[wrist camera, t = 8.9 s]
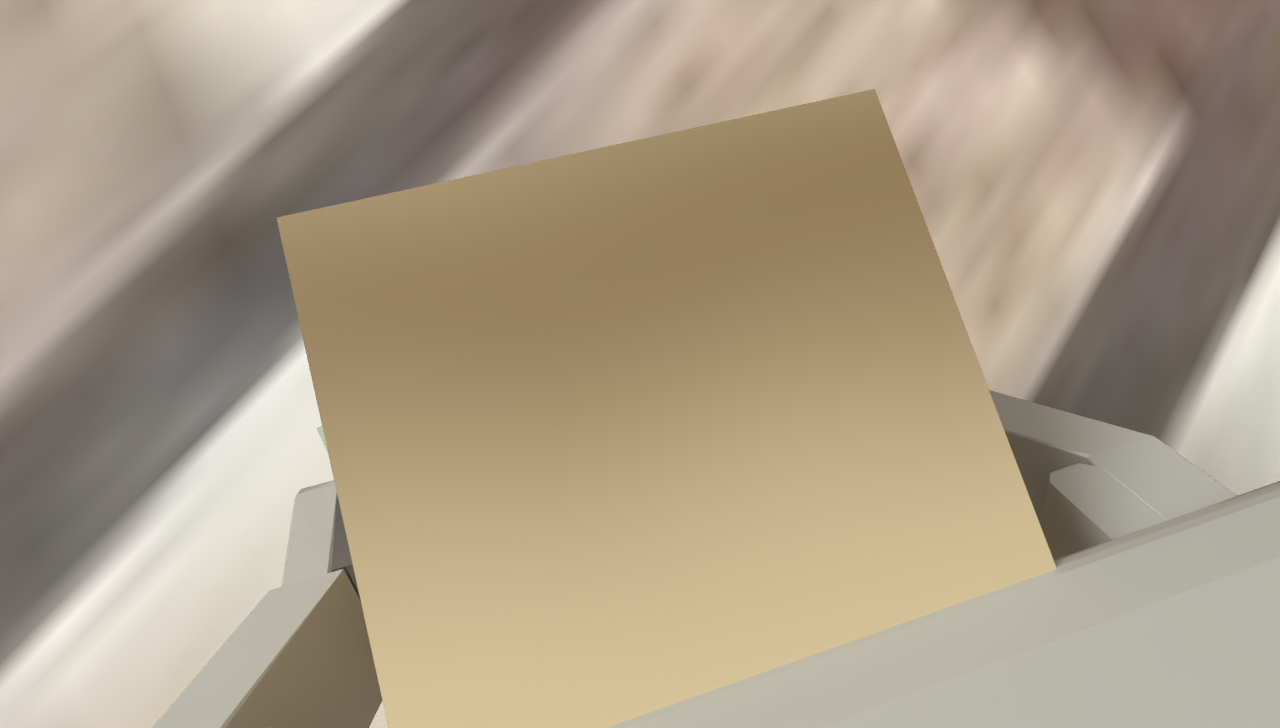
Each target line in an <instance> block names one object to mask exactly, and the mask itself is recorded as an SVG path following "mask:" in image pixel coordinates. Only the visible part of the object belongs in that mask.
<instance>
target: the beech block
mask: <svg viewBox="0 0 1280 728" xmlns="http://www.w3.org/2000/svg"><path fill="white" fill-rule="evenodd" d="M277 221H278V226H279V230H280V235H281V240H282V244H283V249H284V253H285V258H286V262H287V267H288V272H289V276H290V281H291V285H292V290H293V294H294V299H295V303H296V308H297V313H298V317H299V322H300V326H301V331H302V335H303V340H304V344H305V349H306V354H307V358H308V363H309V367H310V372H311V376H312V381H313V386H314V390H315V395H316V399H317V404H318V408H319V413H320V417H321V422H322V427H323V431H324V436H325V440H326V445H327V449H328V454H329V458H330V463H331V468H332V472H333V477H334V481H335V486H336V490H337V495H338V499H339V504H340V509H341V513H342V518H343V522H344V527H345V531H346V536H347V541H348V545H349V550H350V554H351V559H352V563H353V568H354V572H355V577H356V582H357V586H358V591H359V595H360V600H361V604H362V609H363V613H364V618H365V623H366V627H367V632H368V636H369V641H370V645H371V650H372V655H373V659H374V664H375V668H376V673H377V677H378V682H379V686H380V691H381V696H382V700H383V705H384V709H385V714H386V718H387V723H388V727H389V728H607V727H610V726H613V725H616V724H618V723H621V722H624V721H627V720H630V719H633V718H635V717H638V716H641V715H644V714H647V713H650V712H652V711H655V710H658V709H661V708H664V707H667V706H669V705H672V704H675V703H678V702H681V701H684V700H686V699H689V698H692V697H695V696H698V695H701V694H703V693H706V692H709V691H712V690H715V689H718V688H721V687H723V686H726V685H729V684H732V683H735V682H738V681H740V680H743V679H746V678H749V677H752V676H755V675H757V674H760V673H763V672H766V671H769V670H772V669H774V668H777V667H780V666H783V665H786V664H789V663H791V662H794V661H797V660H800V659H803V658H806V657H808V656H811V655H814V654H817V653H820V652H823V651H825V650H828V649H831V648H834V647H837V646H840V645H842V644H845V643H848V642H851V641H854V640H857V639H859V638H862V637H865V636H868V635H871V634H874V633H877V632H879V631H882V630H885V629H888V628H891V627H894V626H896V625H899V624H902V623H905V622H908V621H911V620H913V619H916V618H919V617H922V616H925V615H928V614H930V613H933V612H936V611H939V610H942V609H945V608H947V607H950V606H953V605H956V604H959V603H962V602H964V601H967V600H970V599H973V598H976V597H979V596H981V595H984V594H987V593H990V592H993V591H996V590H998V589H1001V588H1004V587H1007V586H1010V585H1013V584H1015V583H1018V582H1021V581H1024V580H1027V579H1030V578H1032V577H1035V576H1038V575H1041V574H1044V573H1047V572H1049V571H1052V570H1055V569H1057V568H1056V565H1055V563H1054V560H1053V557H1052V555H1051V552H1050V549H1049V547H1048V544H1047V542H1046V539H1045V536H1044V534H1043V531H1042V528H1041V526H1040V523H1039V520H1038V518H1037V515H1036V513H1035V510H1034V507H1033V505H1032V502H1031V499H1030V497H1029V494H1028V492H1027V489H1026V486H1025V484H1024V481H1023V478H1022V476H1021V473H1020V470H1019V468H1018V465H1017V463H1016V460H1015V457H1014V455H1013V452H1012V449H1011V447H1010V444H1009V442H1008V439H1007V436H1006V434H1005V431H1004V428H1003V426H1002V423H1001V420H1000V418H999V415H998V413H997V410H996V407H995V405H994V402H993V399H992V397H991V394H990V392H989V389H988V386H987V384H986V381H985V378H984V376H983V373H982V370H981V368H980V365H979V363H978V360H977V357H976V355H975V352H974V349H973V347H972V344H971V342H970V339H969V336H968V334H967V331H966V328H965V326H964V323H963V320H962V318H961V315H960V313H959V310H958V307H957V305H956V302H955V299H954V297H953V294H952V292H951V289H950V286H949V284H948V281H947V278H946V276H945V273H944V270H943V268H942V265H941V263H940V260H939V257H938V255H937V252H936V249H935V247H934V244H933V242H932V239H931V236H930V234H929V231H928V228H927V226H926V223H925V220H924V218H923V215H922V213H921V210H920V207H919V205H918V202H917V199H916V197H915V194H914V192H913V189H912V186H911V184H910V181H909V178H908V176H907V173H906V170H905V168H904V165H903V163H902V160H901V157H900V155H899V152H898V149H897V147H896V144H895V142H894V139H893V136H892V134H891V131H890V128H889V126H888V123H887V121H886V118H885V115H884V113H883V110H882V107H881V105H880V102H879V99H878V97H877V94H876V92H875V89H873V90H868V91H864V92H859V93H854V94H850V95H845V96H840V97H836V98H831V99H827V100H822V101H817V102H813V103H808V104H803V105H799V106H794V107H789V108H785V109H780V110H775V111H771V112H766V113H761V114H757V115H752V116H747V117H743V118H738V119H734V120H729V121H724V122H720V123H715V124H710V125H706V126H701V127H696V128H692V129H687V130H682V131H678V132H673V133H668V134H664V135H659V136H654V137H650V138H645V139H641V140H636V141H631V142H627V143H622V144H617V145H613V146H608V147H603V148H599V149H594V150H589V151H585V152H580V153H575V154H571V155H566V156H561V157H557V158H552V159H548V160H543V161H538V162H534V163H529V164H524V165H520V166H515V167H510V168H506V169H501V170H496V171H492V172H487V173H482V174H478V175H473V176H468V177H464V178H459V179H454V180H450V181H445V182H441V183H436V184H431V185H427V186H422V187H417V188H413V189H408V190H403V191H399V192H394V193H389V194H385V195H380V196H375V197H371V198H366V199H361V200H357V201H352V202H348V203H343V204H338V205H334V206H329V207H324V208H320V209H315V210H310V211H306V212H301V213H296V214H292V215H287V216H282V217H278V218H277Z"/></svg>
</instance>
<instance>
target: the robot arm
mask: <svg viewBox="0 0 1280 728" xmlns="http://www.w3.org/2000/svg"><path fill="white" fill-rule="evenodd" d="M989 392H990V394H991V397H992V399H993V402H994V405H995V407H996V410H997V413H998V415H999V418H1000V420H1001V423H1002V426H1003V428H1004V431H1005V434H1006V436H1007V439H1008V442H1009V444H1010V447H1011V449H1012V452H1013V455H1014V457H1015V460H1016V463H1017V465H1018V468H1019V470H1020V473H1021V476H1022V478H1023V481H1024V484H1025V486H1026V489H1027V492H1028V494H1029V497H1030V499H1031V502H1032V505H1033V507H1034V510H1035V513H1036V515H1037V518H1038V520H1039V523H1040V526H1041V528H1042V531H1043V534H1044V536H1045V539H1046V542H1047V544H1048V547H1049V549H1050V552H1051V555H1052V557H1053V560H1054V563H1055V565H1056V568H1057V569H1055V570H1052V571H1049V572H1047V573H1044V574H1041V575H1038V576H1035V577H1032V578H1030V579H1027V580H1024V581H1021V582H1018V583H1015V584H1013V585H1010V586H1007V587H1004V588H1001V589H998V590H996V591H993V592H990V593H987V594H984V595H981V596H979V597H976V598H973V599H970V600H967V601H964V602H962V603H959V604H956V605H953V606H950V607H947V608H945V609H942V610H939V611H936V612H933V613H930V614H928V615H925V616H922V617H919V618H916V619H913V620H911V621H908V622H905V623H902V624H899V625H896V626H894V627H891V628H888V629H885V630H882V631H879V632H877V633H874V634H871V635H868V636H865V637H862V638H859V639H857V640H854V641H851V642H848V643H845V644H842V645H840V646H837V647H834V648H831V649H828V650H825V651H823V652H820V653H817V654H814V655H811V656H808V657H806V658H803V659H800V660H797V661H794V662H791V663H789V664H786V665H783V666H780V667H777V668H774V669H772V670H769V671H766V672H763V673H760V674H757V675H755V676H752V677H749V678H746V679H743V680H740V681H738V682H735V683H732V684H729V685H726V686H723V687H721V688H718V689H715V690H712V691H709V692H706V693H703V694H701V695H698V696H695V697H692V698H689V699H686V700H684V701H681V702H678V703H675V704H672V705H669V706H667V707H664V708H661V709H658V710H655V711H652V712H650V713H647V714H644V715H641V716H638V717H635V718H633V719H630V720H627V721H624V722H621V723H618V724H616V725H613V726H610V727H607V728H1280V481H1279V482H1276V483H1273V484H1270V485H1267V486H1264V487H1262V488H1259V489H1256V490H1253V491H1250V492H1247V493H1244V494H1242V495H1239V496H1237V495H1236V494H1234V493H1233V492H1231V491H1230V490H1229V489H1227V488H1226V487H1224V486H1223V485H1222V484H1220V483H1219V482H1217V481H1216V480H1214V479H1213V478H1212V477H1210V476H1209V475H1207V474H1206V473H1205V472H1203V471H1202V470H1200V469H1199V468H1198V467H1196V466H1195V465H1193V464H1192V463H1191V462H1189V461H1188V460H1186V459H1185V458H1184V457H1182V456H1181V455H1179V454H1178V453H1177V452H1175V451H1174V450H1172V449H1171V448H1170V447H1168V446H1167V445H1165V444H1164V443H1163V442H1161V441H1160V440H1158V439H1157V438H1156V437H1154V436H1151V435H1147V434H1143V433H1140V432H1136V431H1133V430H1129V429H1126V428H1122V427H1118V426H1115V425H1111V424H1108V423H1104V422H1101V421H1097V420H1093V419H1090V418H1086V417H1083V416H1079V415H1076V414H1072V413H1068V412H1065V411H1061V410H1058V409H1054V408H1051V407H1047V406H1043V405H1040V404H1036V403H1033V402H1029V401H1026V400H1022V399H1018V398H1015V397H1011V396H1008V395H1004V394H1001V393H997V392H993V391H990V390H989ZM381 702H382V696H381V691H380V686H379V682H378V677H377V673H376V668H375V664H374V659H373V655H372V650H371V645H370V641H369V636H368V632H367V627H366V623H365V618H364V613H363V609H362V604H361V600H360V595H359V591H358V586H357V582H356V577H355V572H354V568H353V563H352V559H351V554H350V550H349V545H348V541H347V536H346V531H345V527H344V522H343V518H342V513H341V509H340V504H339V499H338V495H337V490H336V486H335V481H334V480H333V481H330V482H326V483H322V484H318V485H315V486H311V487H307V488H303V489H301V490H300V491H299V493H298V494H297V495H296V497H295V501H294V508H293V514H292V521H291V528H290V534H289V541H288V548H287V554H286V561H285V568H284V574H283V581H282V587H280V588H277V589H274V590H270V591H269V592H268V593H267V594H266V595H265V596H264V597H263V599H262V600H261V601H260V602H259V603H258V604H257V606H256V607H255V608H254V609H253V610H252V612H251V613H250V614H249V615H248V616H247V617H246V619H245V620H244V621H243V622H242V623H241V624H240V626H239V627H238V628H237V629H236V630H235V631H234V633H233V634H232V635H231V636H230V637H229V638H228V640H227V641H226V642H225V643H224V644H223V645H222V647H221V648H220V649H219V650H218V651H217V653H216V654H215V655H214V656H213V657H212V658H211V660H210V661H209V662H208V663H207V664H206V665H205V667H204V668H203V669H202V670H201V671H200V672H199V674H198V675H197V676H196V677H195V678H194V679H193V681H192V682H191V683H190V684H189V685H188V686H187V688H186V689H185V690H184V691H183V692H182V694H181V695H180V696H179V697H178V698H177V699H176V701H175V702H174V703H173V704H172V705H171V706H170V708H169V709H168V710H167V711H166V712H165V713H164V715H163V716H162V717H161V718H160V719H159V720H158V722H157V723H156V724H155V725H154V726H153V727H152V728H369V726H370V724H371V722H372V720H373V718H374V716H375V714H376V712H377V710H378V708H379V706H380V704H381Z"/></svg>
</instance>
